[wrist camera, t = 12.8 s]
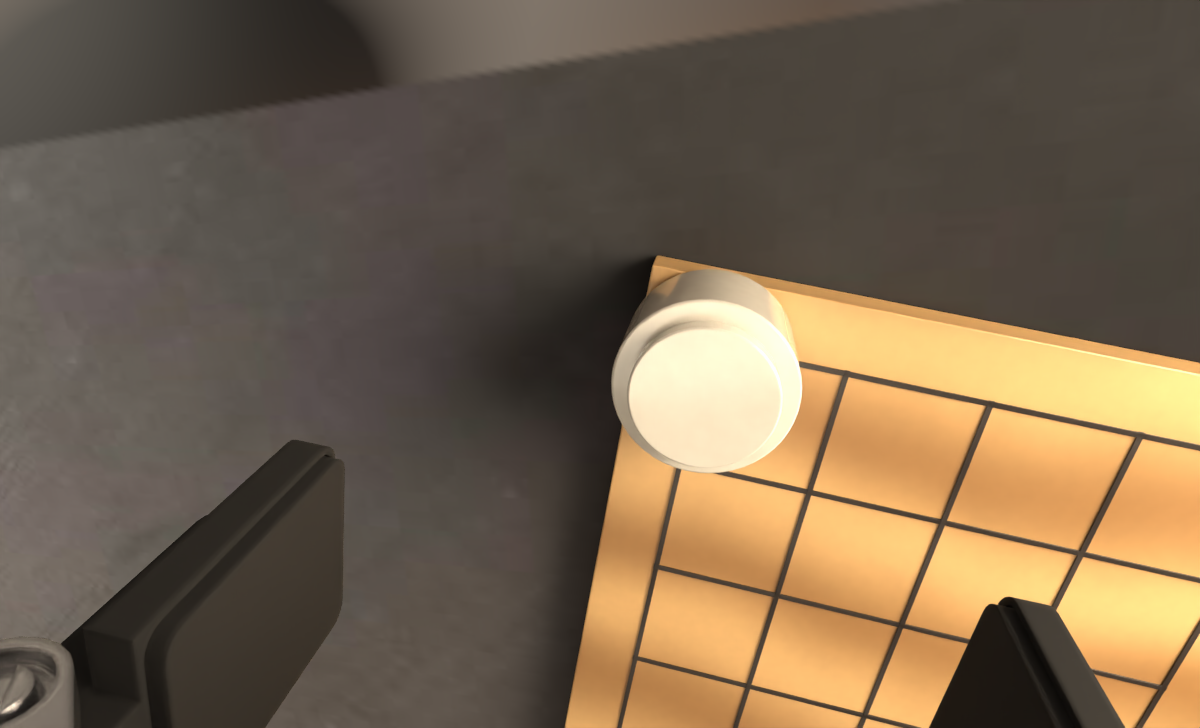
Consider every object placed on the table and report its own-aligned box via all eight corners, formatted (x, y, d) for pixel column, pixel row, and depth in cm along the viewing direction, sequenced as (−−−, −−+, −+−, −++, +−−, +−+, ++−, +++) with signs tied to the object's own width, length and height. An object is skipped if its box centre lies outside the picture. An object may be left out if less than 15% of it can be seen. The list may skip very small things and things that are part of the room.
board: (656, 254, 22) (651, 265, 21) (1382, 398, 20) (1422, 419, 19) (564, 736, 30) (557, 763, 29) (1082, 873, 28) (1097, 909, 27)
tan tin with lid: (642, 253, 21) (624, 288, 18) (814, 287, 21) (828, 330, 17) (614, 405, 23) (593, 462, 20) (771, 440, 23) (776, 504, 19)
